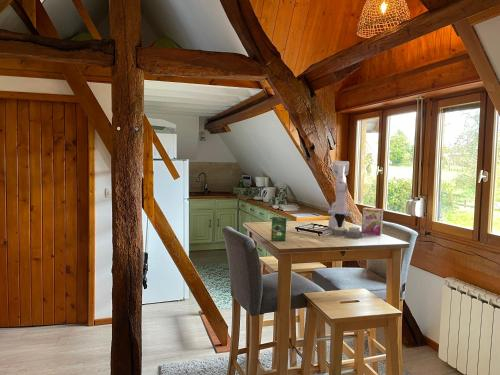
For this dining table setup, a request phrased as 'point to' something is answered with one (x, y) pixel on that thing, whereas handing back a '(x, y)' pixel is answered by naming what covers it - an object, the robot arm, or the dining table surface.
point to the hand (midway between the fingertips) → (339, 227)
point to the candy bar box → (372, 221)
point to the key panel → (347, 234)
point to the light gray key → (354, 229)
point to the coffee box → (278, 229)
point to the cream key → (339, 228)
